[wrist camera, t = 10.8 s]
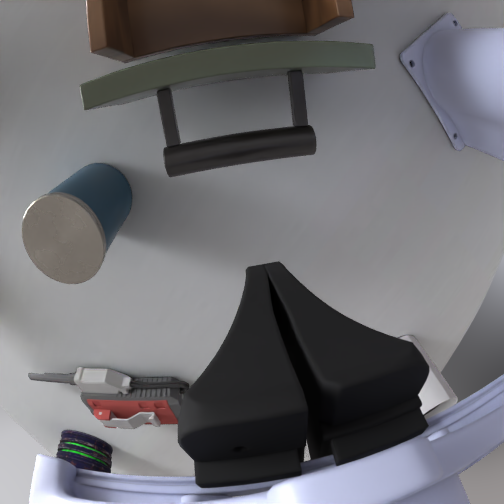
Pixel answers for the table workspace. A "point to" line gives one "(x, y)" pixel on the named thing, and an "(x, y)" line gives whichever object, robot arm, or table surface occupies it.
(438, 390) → the white cup
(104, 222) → the tin
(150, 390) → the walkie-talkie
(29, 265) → the table surface
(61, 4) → the table surface
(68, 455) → the dark barrel
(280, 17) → the drawer
